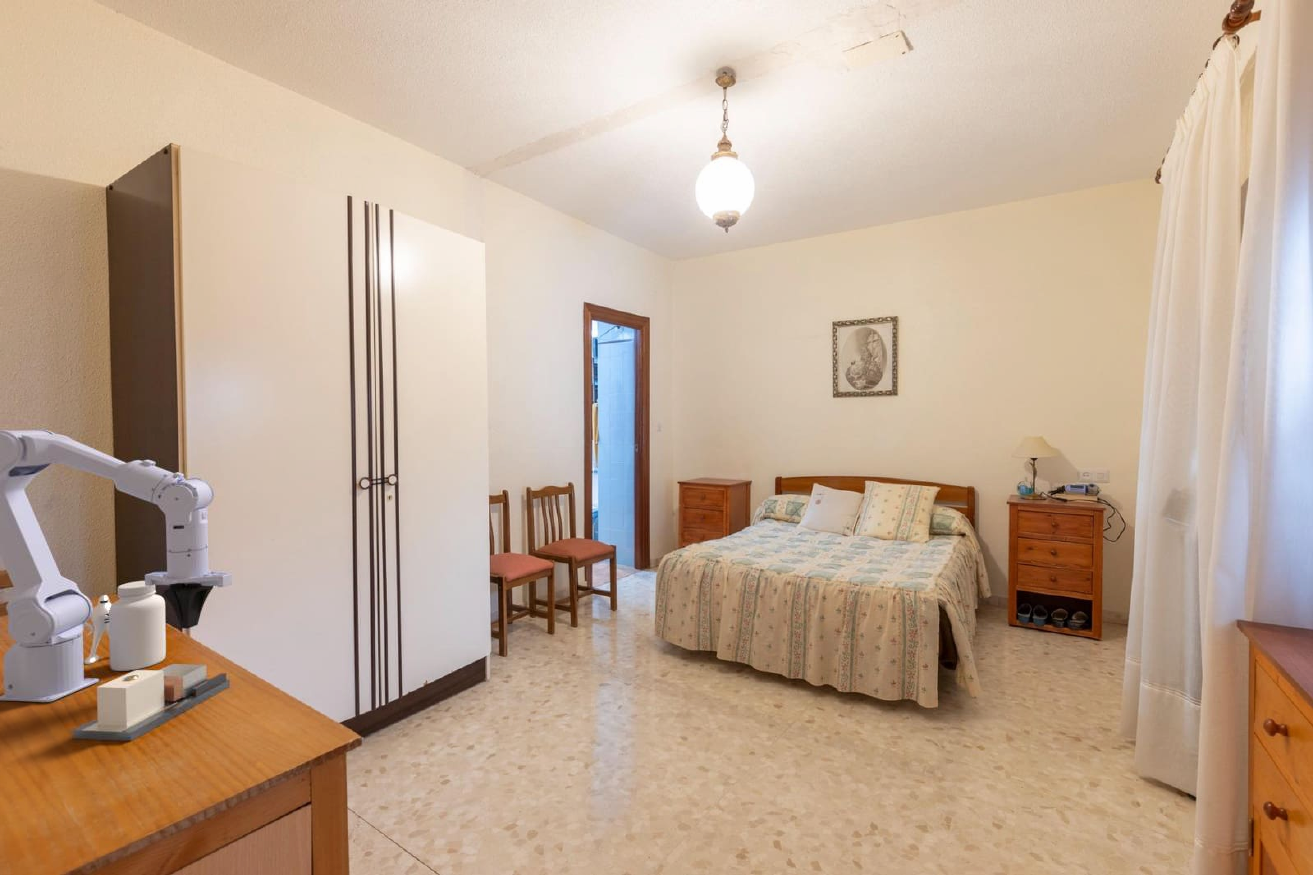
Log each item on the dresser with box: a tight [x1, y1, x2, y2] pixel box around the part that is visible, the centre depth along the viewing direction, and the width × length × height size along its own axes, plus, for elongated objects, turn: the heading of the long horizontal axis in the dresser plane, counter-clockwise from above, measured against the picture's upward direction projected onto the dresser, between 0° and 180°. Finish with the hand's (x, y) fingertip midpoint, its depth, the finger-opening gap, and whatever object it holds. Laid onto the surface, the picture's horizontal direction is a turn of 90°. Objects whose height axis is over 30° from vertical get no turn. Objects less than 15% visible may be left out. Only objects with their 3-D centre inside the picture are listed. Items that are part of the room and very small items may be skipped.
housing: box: [96, 669, 164, 726], centre depth 89 cm, size 4×6×6 cm
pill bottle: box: [108, 580, 167, 672], centre depth 112 cm, size 8×8×15 cm
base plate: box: [72, 672, 231, 742], centre depth 93 cm, size 9×18×2 cm, turn 175°
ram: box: [157, 663, 207, 701], centre depth 96 cm, size 6×6×4 cm
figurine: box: [83, 594, 113, 665], centre depth 114 cm, size 7×4×12 cm, turn 131°
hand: (189, 626), depth 104 cm, fingers closed
